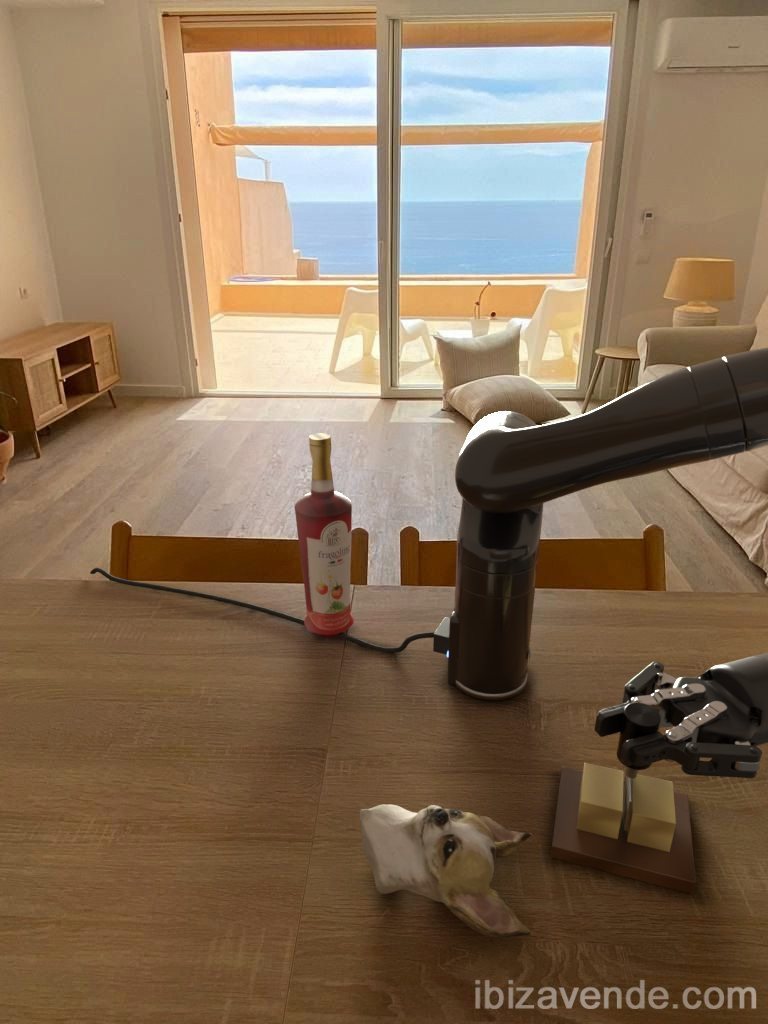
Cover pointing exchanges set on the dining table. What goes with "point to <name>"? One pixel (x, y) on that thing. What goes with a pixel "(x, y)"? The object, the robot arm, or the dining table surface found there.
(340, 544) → the liquor
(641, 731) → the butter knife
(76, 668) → the dining table surface
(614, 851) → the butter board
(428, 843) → the ceramic sculpture
